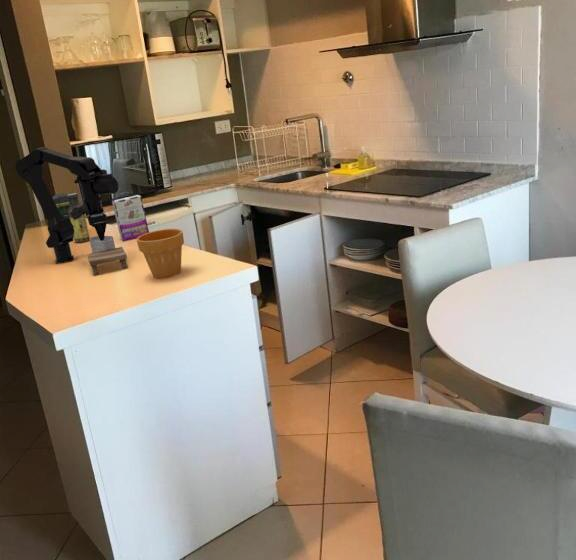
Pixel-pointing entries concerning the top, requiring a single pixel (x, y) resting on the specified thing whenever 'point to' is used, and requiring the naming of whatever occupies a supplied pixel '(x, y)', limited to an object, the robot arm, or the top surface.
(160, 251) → the flower pot
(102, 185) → the robot arm
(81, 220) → the sauce bottle
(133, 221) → the candy bar box
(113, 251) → the small brown stool
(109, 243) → the medicine box
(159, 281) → the top surface
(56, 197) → the coffee jar
